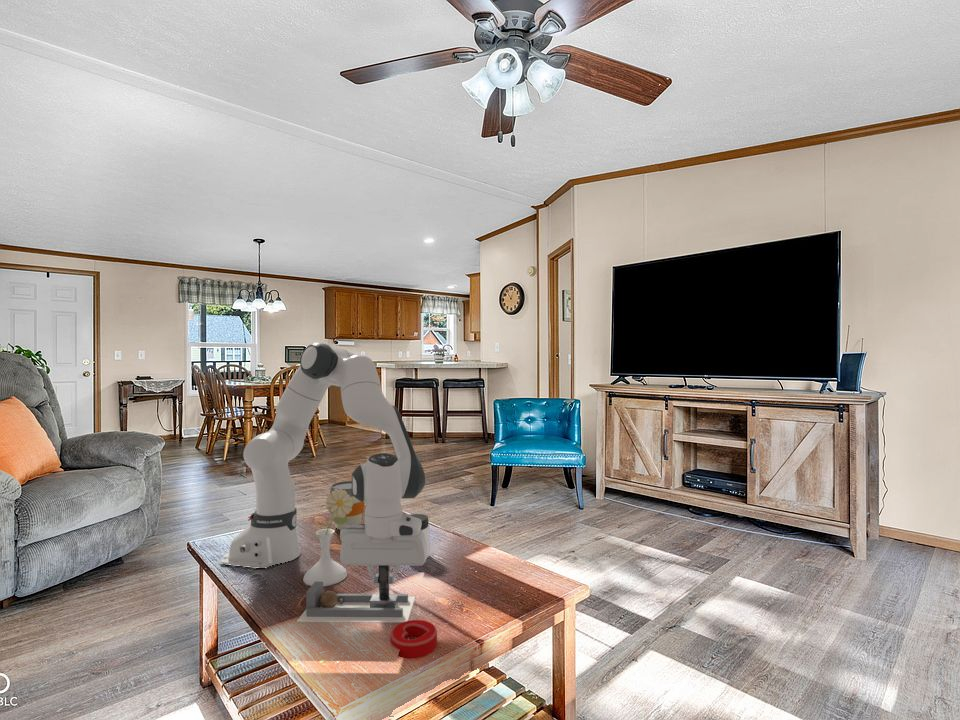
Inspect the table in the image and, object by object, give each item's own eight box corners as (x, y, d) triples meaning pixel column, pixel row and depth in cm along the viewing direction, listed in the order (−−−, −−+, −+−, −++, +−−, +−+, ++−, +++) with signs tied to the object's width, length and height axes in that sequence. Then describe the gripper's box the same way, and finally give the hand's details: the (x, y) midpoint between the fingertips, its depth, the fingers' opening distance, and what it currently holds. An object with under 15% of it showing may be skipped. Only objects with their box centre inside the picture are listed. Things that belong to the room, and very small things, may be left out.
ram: (369, 611, 114) (369, 566, 114) (373, 604, 117) (372, 560, 117) (395, 611, 113) (395, 566, 113) (398, 604, 117) (397, 560, 117)
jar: (434, 558, 148) (434, 518, 148) (411, 565, 143) (411, 524, 143) (418, 549, 155) (418, 511, 155) (396, 556, 150) (396, 517, 150)
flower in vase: (306, 596, 125) (305, 498, 125) (300, 578, 135) (299, 488, 135) (357, 585, 131) (357, 491, 131) (348, 569, 141) (347, 482, 141)
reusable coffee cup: (323, 531, 173) (323, 488, 173) (339, 519, 185) (339, 480, 185) (357, 532, 171) (357, 490, 171) (371, 521, 183) (370, 481, 183)
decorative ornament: (443, 651, 101) (443, 636, 101) (399, 665, 96) (399, 649, 96) (426, 629, 109) (426, 614, 109) (385, 640, 105) (385, 625, 105)
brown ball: (317, 612, 114) (317, 595, 114) (323, 603, 118) (323, 587, 118) (334, 612, 113) (334, 595, 113) (339, 604, 117) (339, 587, 117)
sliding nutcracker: (296, 628, 110) (296, 599, 110) (315, 601, 122) (315, 575, 122) (407, 628, 109) (407, 599, 109) (415, 602, 121) (415, 576, 121)
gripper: (335, 528, 112) (336, 588, 112) (424, 528, 112) (424, 589, 112) (344, 519, 119) (344, 576, 119) (427, 519, 118) (428, 576, 118)
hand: (384, 582), depth 115 cm, fingers closed on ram, 2 cm apart
